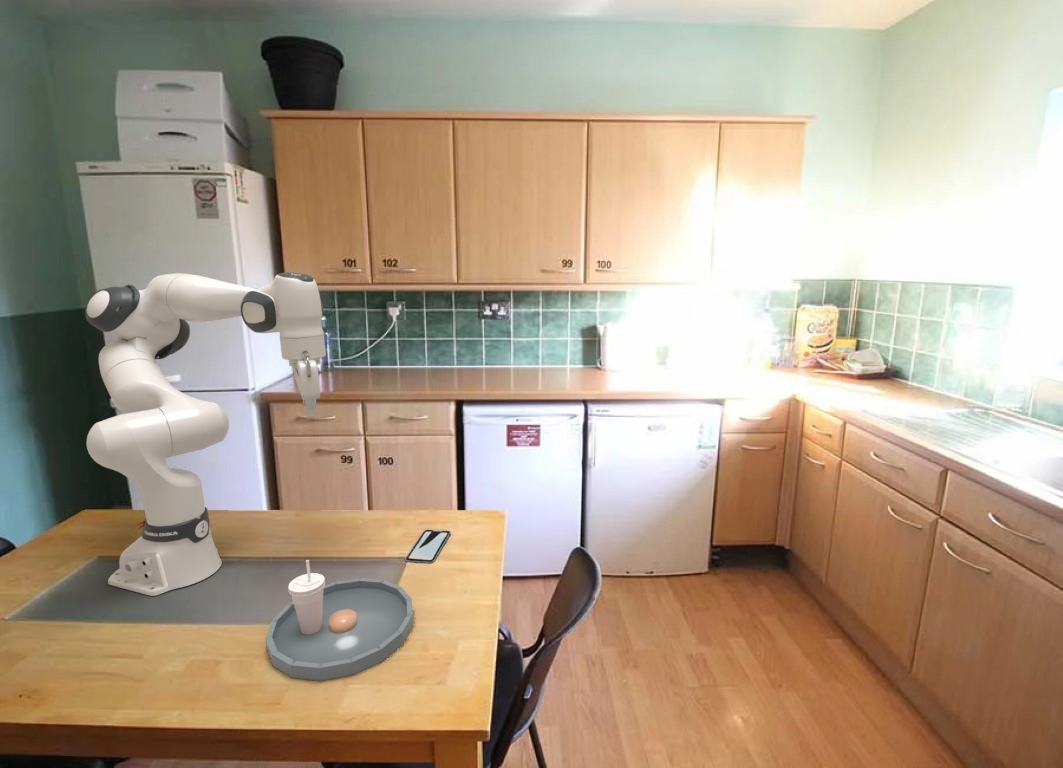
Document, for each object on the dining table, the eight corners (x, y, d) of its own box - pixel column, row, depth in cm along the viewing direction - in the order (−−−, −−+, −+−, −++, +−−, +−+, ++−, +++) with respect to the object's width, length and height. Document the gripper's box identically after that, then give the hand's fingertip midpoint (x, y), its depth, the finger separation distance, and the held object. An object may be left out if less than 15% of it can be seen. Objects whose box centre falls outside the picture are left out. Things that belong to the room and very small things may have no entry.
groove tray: (236, 671, 91) (234, 659, 91) (317, 585, 117) (315, 574, 116) (379, 687, 88) (378, 674, 87) (430, 593, 113) (430, 583, 112)
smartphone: (403, 560, 125) (424, 529, 140) (403, 564, 126) (424, 532, 140) (433, 562, 124) (451, 530, 139) (433, 566, 125) (452, 534, 139)
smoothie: (324, 637, 98) (317, 568, 95) (288, 640, 97) (279, 571, 95) (333, 616, 104) (326, 551, 102) (299, 618, 104) (292, 553, 101)
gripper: (324, 354, 107) (330, 420, 110) (314, 342, 125) (320, 399, 128) (290, 356, 104) (297, 424, 107) (285, 344, 122) (291, 403, 125)
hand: (309, 410), depth 118 cm, fingers open, 8 cm apart
